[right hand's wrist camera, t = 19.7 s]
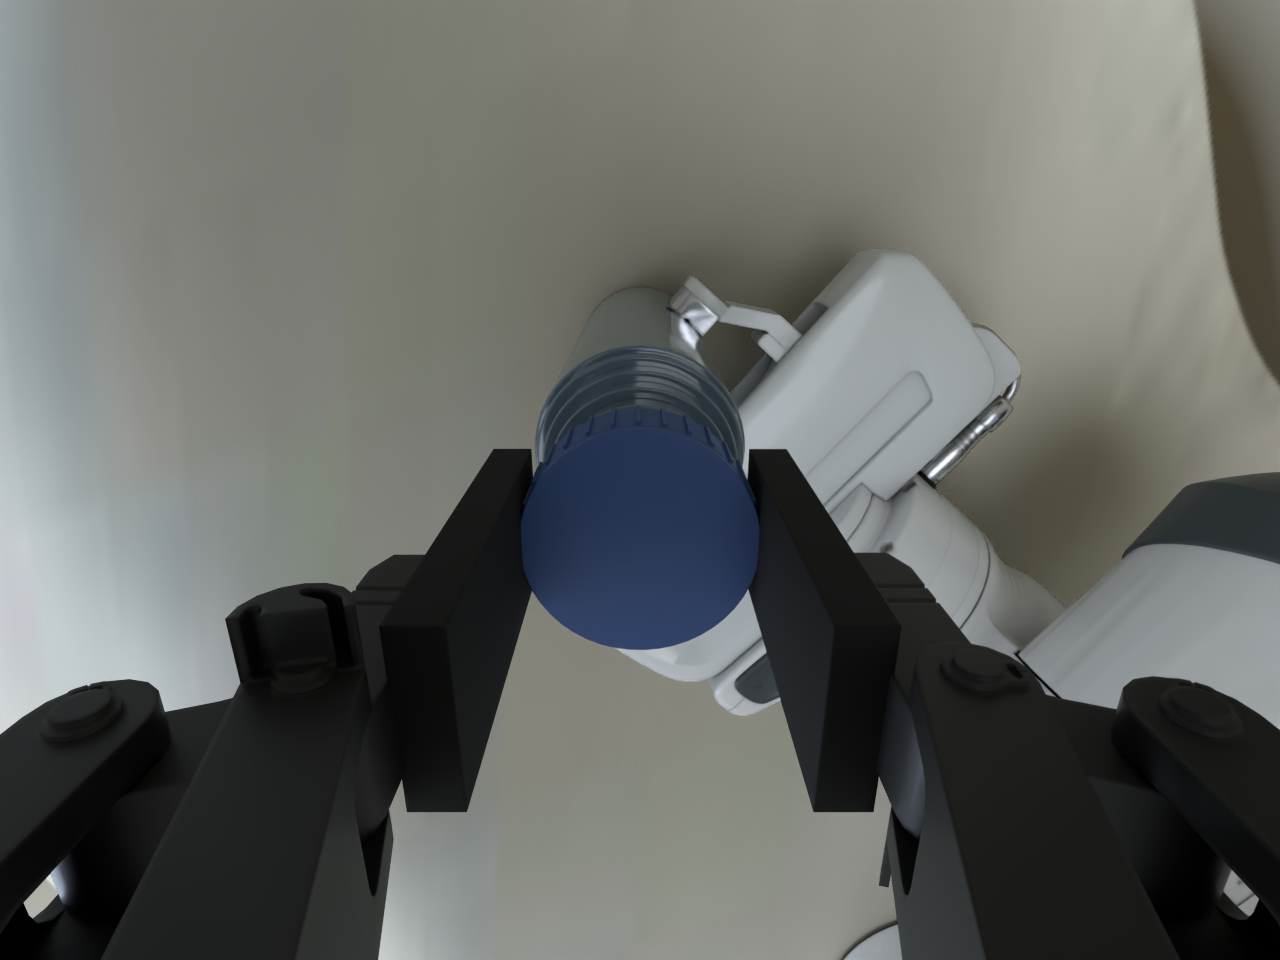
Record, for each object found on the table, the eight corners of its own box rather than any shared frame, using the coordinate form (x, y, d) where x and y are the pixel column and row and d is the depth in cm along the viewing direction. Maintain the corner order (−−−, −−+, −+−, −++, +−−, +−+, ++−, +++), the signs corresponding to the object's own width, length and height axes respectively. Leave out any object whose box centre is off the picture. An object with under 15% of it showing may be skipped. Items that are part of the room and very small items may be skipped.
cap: (698, 366, 13) (705, 384, 12) (783, 561, 15) (799, 601, 13) (488, 461, 14) (469, 490, 12) (589, 639, 15) (583, 685, 14)
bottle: (560, 345, 34) (438, 534, 13) (639, 261, 33) (638, 327, 12) (640, 421, 35) (640, 700, 15) (719, 344, 34) (842, 531, 13)
